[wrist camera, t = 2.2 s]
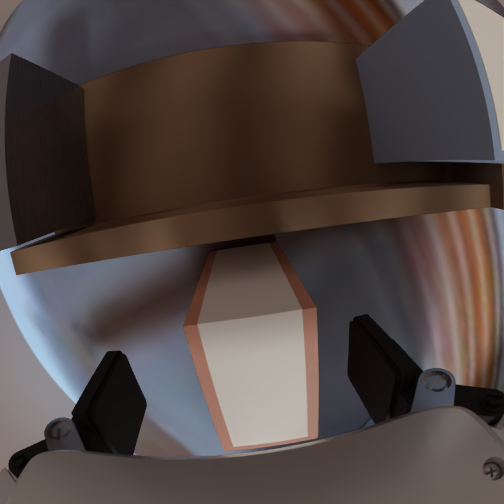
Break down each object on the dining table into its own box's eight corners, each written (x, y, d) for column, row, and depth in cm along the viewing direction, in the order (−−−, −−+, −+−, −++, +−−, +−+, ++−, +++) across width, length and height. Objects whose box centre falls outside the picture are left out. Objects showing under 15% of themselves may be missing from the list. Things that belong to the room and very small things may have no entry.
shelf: (421, 63, 14) (482, 34, 7) (442, 195, 17) (513, 208, 10) (54, 106, 14) (-13, 87, 7) (70, 247, 16) (4, 281, 9)
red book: (276, 241, 17) (317, 306, 8) (286, 335, 19) (318, 438, 10) (209, 250, 17) (182, 325, 8) (227, 344, 18) (224, 451, 10)
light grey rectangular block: (420, 67, 13) (516, 26, 4) (437, 162, 15) (551, 167, 6) (355, 58, 13) (443, -16, 4) (374, 163, 14) (495, 160, 6)
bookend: (83, 88, 12) (11, 53, 6) (96, 217, 14) (17, 245, 8) (46, 105, 12) (-29, 85, 5) (58, 226, 14) (-21, 256, 7)
